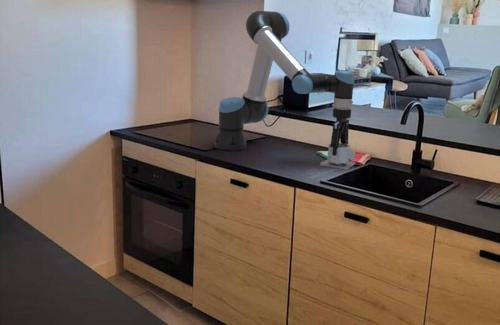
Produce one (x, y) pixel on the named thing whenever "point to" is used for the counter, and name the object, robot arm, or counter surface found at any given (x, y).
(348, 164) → the square plate with knob
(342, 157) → the grey piece
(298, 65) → the robot arm
